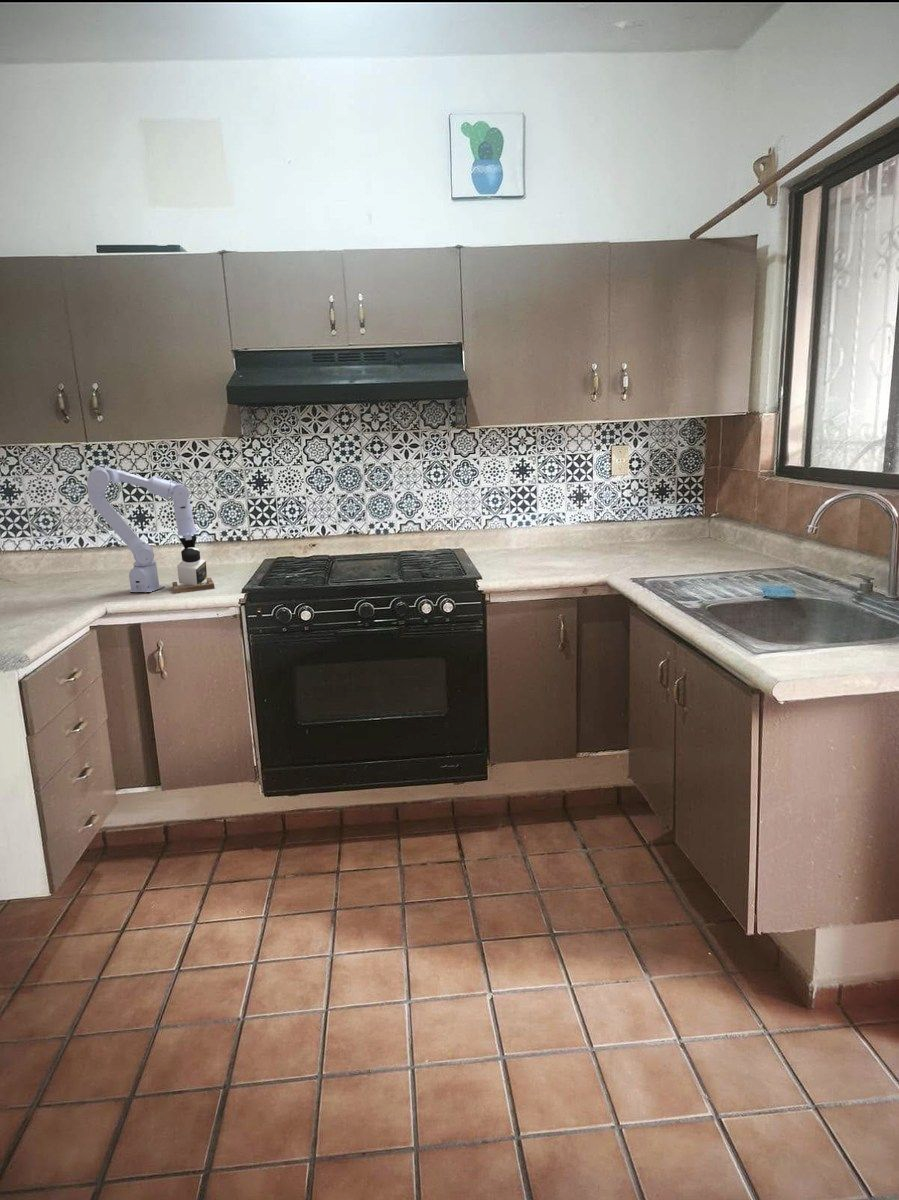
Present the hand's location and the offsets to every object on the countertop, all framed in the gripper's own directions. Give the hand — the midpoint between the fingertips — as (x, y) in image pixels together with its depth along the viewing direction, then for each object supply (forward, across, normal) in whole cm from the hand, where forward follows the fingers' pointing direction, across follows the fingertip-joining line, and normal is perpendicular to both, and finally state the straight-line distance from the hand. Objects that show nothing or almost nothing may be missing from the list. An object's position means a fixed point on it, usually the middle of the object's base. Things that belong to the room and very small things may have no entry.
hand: (191, 557), depth 269 cm
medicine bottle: (+8, -1, +1) cm, 8 cm away
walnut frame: (+9, -6, +1) cm, 11 cm away
